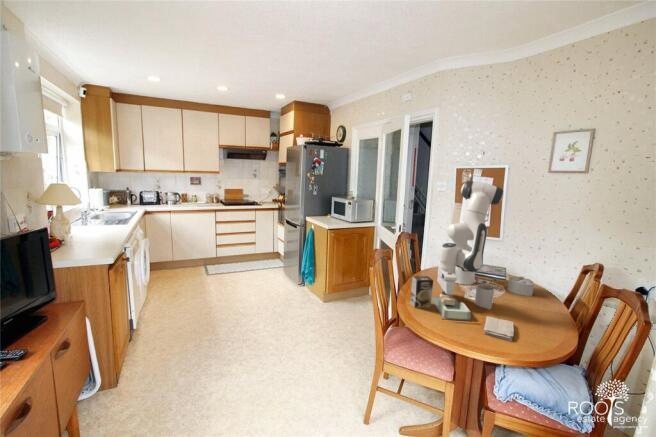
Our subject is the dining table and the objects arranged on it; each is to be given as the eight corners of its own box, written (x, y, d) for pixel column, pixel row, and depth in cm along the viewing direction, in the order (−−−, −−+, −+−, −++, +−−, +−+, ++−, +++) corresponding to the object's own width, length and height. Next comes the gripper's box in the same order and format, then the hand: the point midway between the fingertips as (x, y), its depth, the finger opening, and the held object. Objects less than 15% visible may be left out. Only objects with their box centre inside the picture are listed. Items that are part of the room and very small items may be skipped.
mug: (490, 311, 164) (492, 291, 163) (472, 306, 169) (475, 287, 167) (493, 303, 174) (496, 284, 172) (477, 299, 179) (479, 281, 177)
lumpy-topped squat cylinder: (532, 297, 185) (534, 283, 184) (507, 292, 191) (509, 278, 190) (531, 291, 194) (533, 278, 193) (507, 286, 200) (509, 273, 199)
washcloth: (483, 335, 141) (483, 329, 140) (485, 319, 156) (485, 313, 156) (513, 343, 135) (514, 337, 135) (512, 325, 151) (513, 320, 150)
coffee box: (414, 309, 163) (417, 280, 160) (409, 304, 169) (412, 275, 166) (430, 309, 164) (433, 280, 161) (425, 303, 170) (428, 275, 168)
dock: (430, 298, 177) (431, 290, 176) (455, 300, 176) (456, 292, 175) (442, 319, 153) (443, 310, 152) (471, 321, 152) (472, 312, 151)
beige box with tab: (439, 300, 173) (440, 291, 172) (450, 301, 172) (451, 291, 171) (442, 306, 166) (443, 296, 165) (454, 306, 165) (455, 297, 165)
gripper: (435, 266, 183) (433, 288, 185) (445, 278, 163) (443, 303, 165) (446, 266, 182) (444, 289, 185) (458, 279, 162) (455, 304, 164)
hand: (443, 295), depth 175 cm, fingers closed
